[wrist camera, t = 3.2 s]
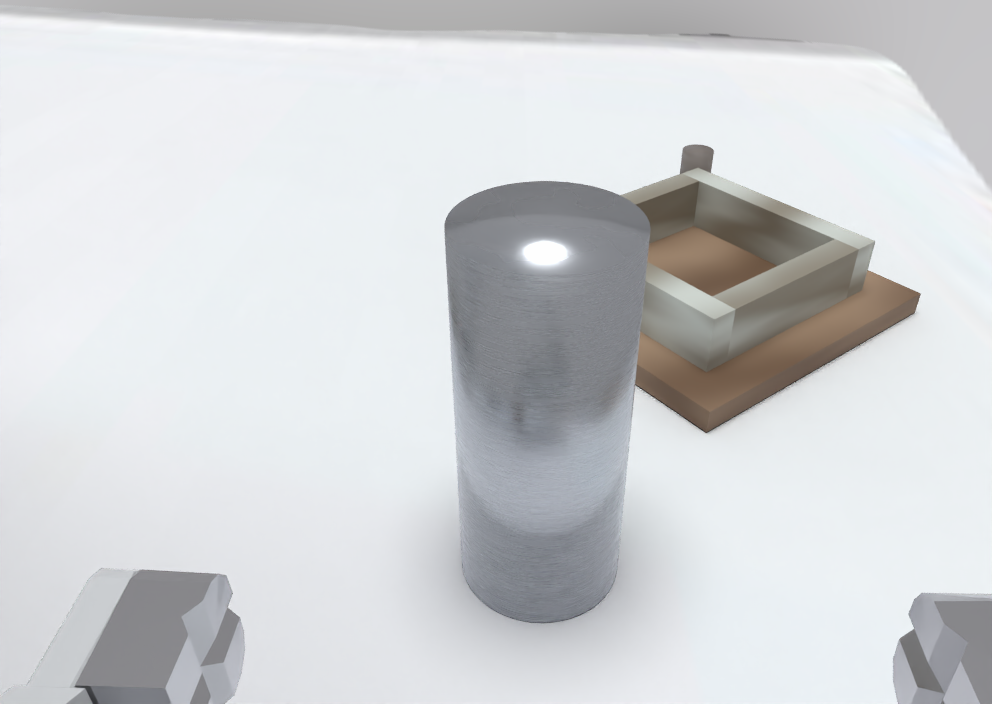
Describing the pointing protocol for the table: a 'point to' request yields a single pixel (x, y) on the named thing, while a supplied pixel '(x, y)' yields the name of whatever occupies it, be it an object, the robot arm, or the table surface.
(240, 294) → the table surface
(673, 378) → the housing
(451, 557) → the table surface
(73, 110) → the table surface
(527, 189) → the pin
